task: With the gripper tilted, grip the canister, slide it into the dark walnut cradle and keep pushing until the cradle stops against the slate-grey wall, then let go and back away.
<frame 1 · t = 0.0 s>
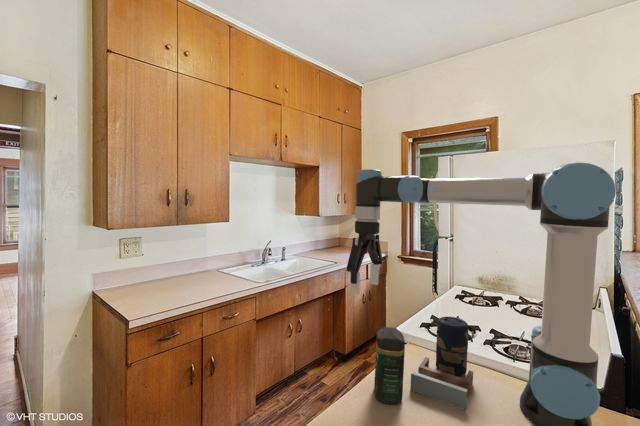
hand: (364, 288, 98), 28 cm above the countertop, tool pointing down, fingers open, 13 cm apart
backstop wall: (437, 398, 90), on the countertop
canister: (450, 371, 104), on the countertop
coffee jar: (388, 395, 91), on the countertop
cradle: (445, 375, 97), point 2 cm above the countertop, slide at 0.0 cm
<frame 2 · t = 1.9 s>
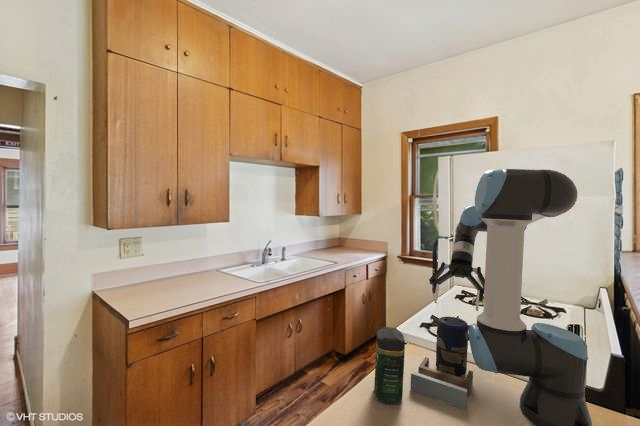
hand: (455, 305, 112), 19 cm above the countertop, tool tilted 45°, fingers open, 13 cm apart
nothing on the countertop moved.
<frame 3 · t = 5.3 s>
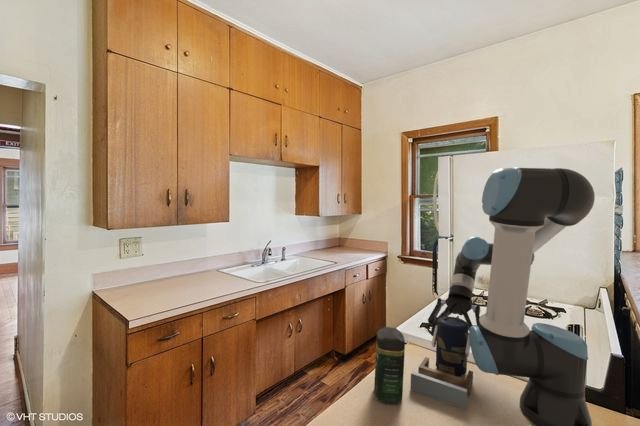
hand: (449, 350, 101), 8 cm above the countertop, tool tilted 45°, fingers closed on canister, 9 cm apart
canister: (450, 371, 104), on the countertop, touching gripper
everything else where it was.
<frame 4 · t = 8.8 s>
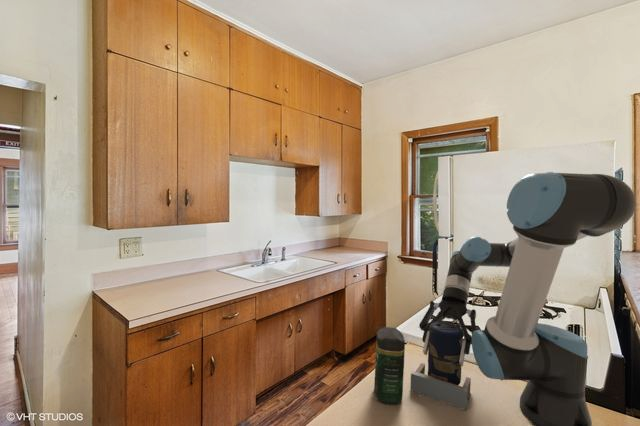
hand: (442, 358, 93), 10 cm above the countertop, tool tilted 45°, fingers closed on canister, 9 cm apart
canister: (443, 381, 96), point 1 cm above the countertop, touching cradle, gripper
cradle: (441, 382, 93), point 2 cm above the countertop, slide at 4.6 cm, touching canister
everything else where it was.
when the fingers open (9 cm above the countertop, at t = 10.1 s): canister drops 1 cm, on the countertop.
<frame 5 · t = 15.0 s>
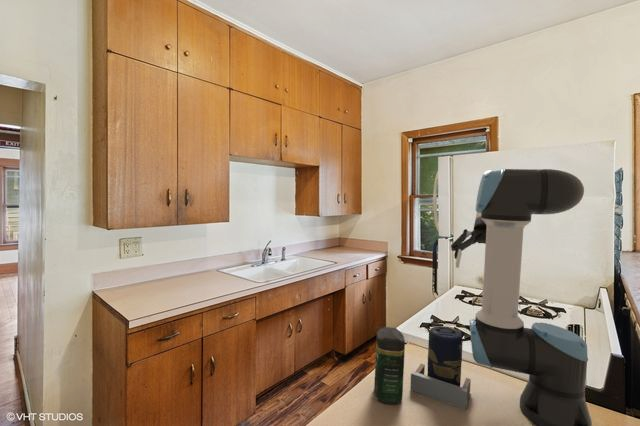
hand: (478, 268, 110), 33 cm above the countertop, tool tilted 45°, fingers open, 13 cm apart
canister: (442, 386, 95), on the countertop
cradle: (441, 383, 93), point 2 cm above the countertop, slide at 5.0 cm
everything else where it was.
at the end: cradle slide at 5.0 cm; canister 0.2 cm from the target spot, on the countertop; canister tilted 0° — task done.
